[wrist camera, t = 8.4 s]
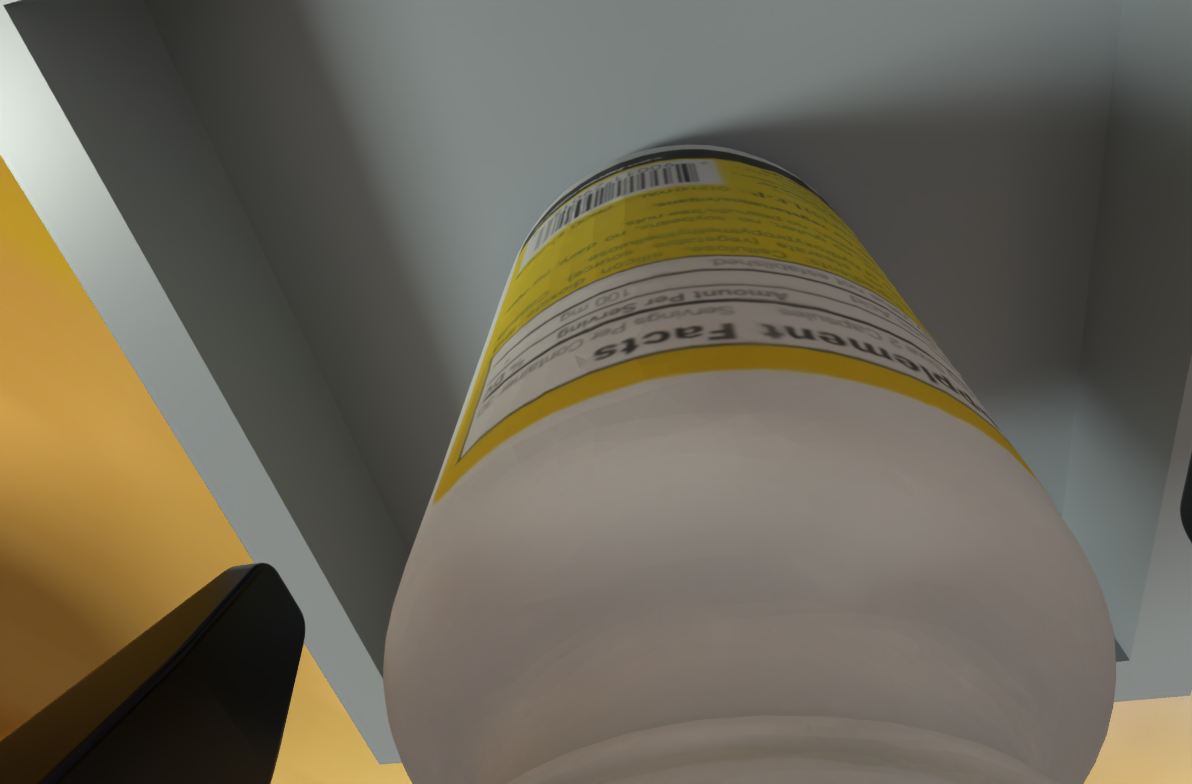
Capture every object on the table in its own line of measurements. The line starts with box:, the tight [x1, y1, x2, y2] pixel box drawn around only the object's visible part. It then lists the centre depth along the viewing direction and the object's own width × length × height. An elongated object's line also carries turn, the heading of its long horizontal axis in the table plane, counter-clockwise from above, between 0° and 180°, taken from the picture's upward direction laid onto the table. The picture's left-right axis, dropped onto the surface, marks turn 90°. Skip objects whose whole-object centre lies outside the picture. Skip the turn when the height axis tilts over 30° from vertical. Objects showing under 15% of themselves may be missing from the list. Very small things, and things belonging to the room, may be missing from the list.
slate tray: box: [0, 0, 1192, 764], centre depth 11 cm, size 14×14×3 cm
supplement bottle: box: [383, 145, 1116, 784], centre depth 7 cm, size 5×5×10 cm
